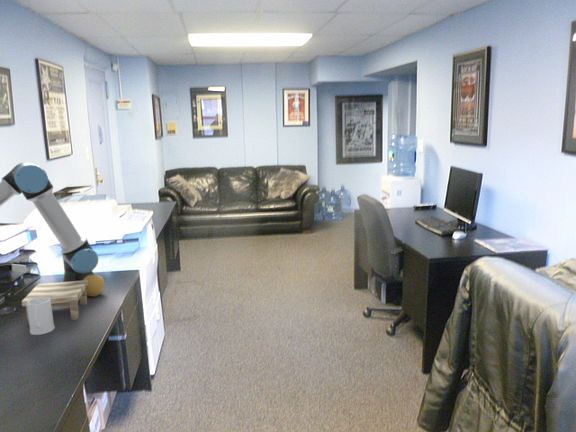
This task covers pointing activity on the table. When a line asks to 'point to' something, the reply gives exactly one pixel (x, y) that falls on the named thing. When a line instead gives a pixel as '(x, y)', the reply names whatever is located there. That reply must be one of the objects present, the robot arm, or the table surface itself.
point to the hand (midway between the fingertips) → (10, 274)
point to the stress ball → (94, 285)
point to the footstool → (61, 295)
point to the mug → (40, 315)
